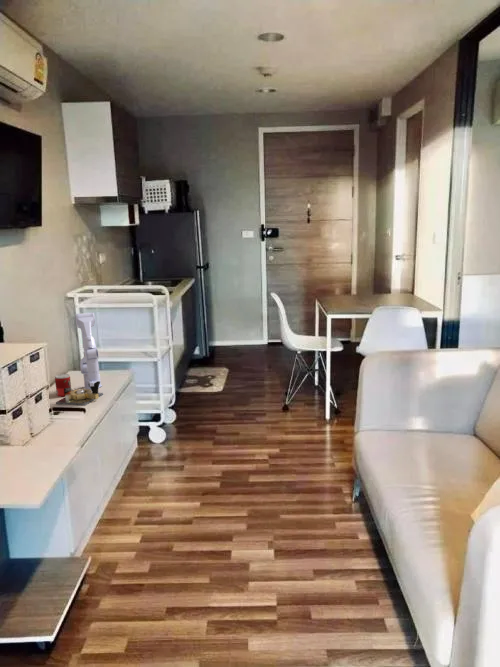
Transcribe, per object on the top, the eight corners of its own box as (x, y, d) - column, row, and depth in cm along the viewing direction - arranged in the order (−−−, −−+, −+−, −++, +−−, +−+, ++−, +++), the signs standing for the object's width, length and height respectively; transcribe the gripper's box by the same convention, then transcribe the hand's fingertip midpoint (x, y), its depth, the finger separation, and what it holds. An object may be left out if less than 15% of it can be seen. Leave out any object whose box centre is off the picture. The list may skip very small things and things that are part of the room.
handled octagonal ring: (65, 398, 269) (65, 393, 268) (80, 392, 278) (80, 388, 278) (89, 401, 261) (89, 397, 261) (104, 395, 271) (104, 391, 270)
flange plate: (75, 393, 281) (74, 385, 280) (103, 394, 277) (102, 386, 276) (56, 403, 264) (55, 395, 263) (85, 405, 260) (84, 397, 259)
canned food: (67, 397, 275) (65, 377, 273) (53, 396, 277) (51, 377, 274) (74, 393, 282) (72, 373, 280) (61, 392, 284) (59, 373, 282)
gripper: (87, 368, 274) (90, 392, 276) (82, 375, 260) (85, 400, 262) (101, 367, 275) (103, 391, 277) (96, 374, 261) (99, 399, 263)
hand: (95, 395), depth 270 cm, fingers closed
